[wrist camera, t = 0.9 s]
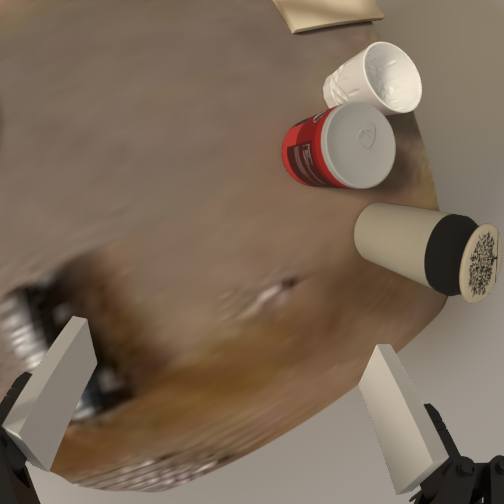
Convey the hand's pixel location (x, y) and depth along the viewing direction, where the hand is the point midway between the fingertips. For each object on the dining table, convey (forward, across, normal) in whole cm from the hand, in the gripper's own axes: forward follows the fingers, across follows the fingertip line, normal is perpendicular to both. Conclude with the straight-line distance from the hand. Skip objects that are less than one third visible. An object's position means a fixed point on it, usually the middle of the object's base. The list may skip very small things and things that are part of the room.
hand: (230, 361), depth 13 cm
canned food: (+26, +8, +7) cm, 28 cm away
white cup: (+29, +12, +16) cm, 35 cm away
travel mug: (+26, +18, -1) cm, 32 cm away
